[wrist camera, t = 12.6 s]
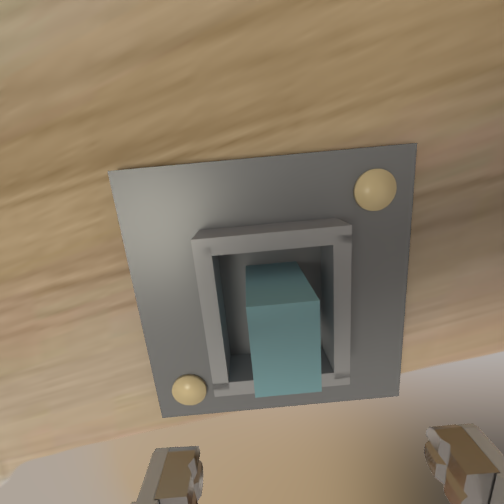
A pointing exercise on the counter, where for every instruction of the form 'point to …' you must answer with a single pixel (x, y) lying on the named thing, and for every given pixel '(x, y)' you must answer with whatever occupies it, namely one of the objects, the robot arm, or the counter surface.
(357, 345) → the housing
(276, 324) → the block
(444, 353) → the counter surface
